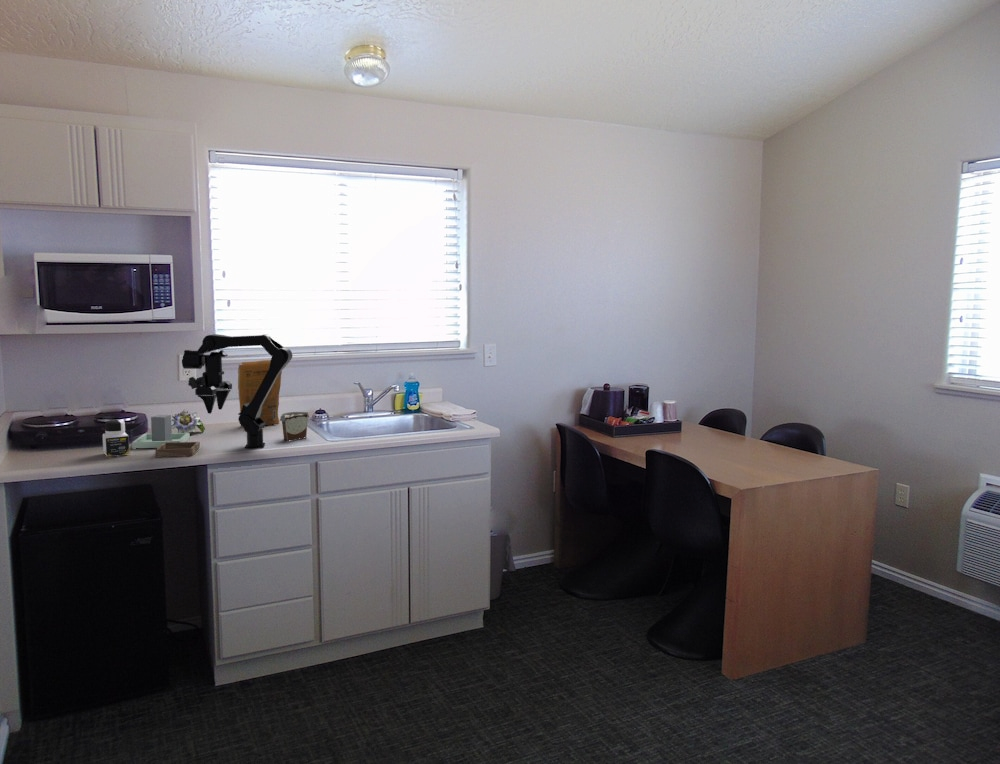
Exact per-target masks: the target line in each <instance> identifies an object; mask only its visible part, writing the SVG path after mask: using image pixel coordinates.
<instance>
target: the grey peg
mask: <svg viewBox="0 0 1000 764" xmlns="http://www.w3.org/2000/svg"><path fill="white" fill-rule="evenodd" d="M150 424H151V425H150V426H151V427H150V428H151V434H152V441H172V433H173V432H172V430H173V429H171V425H172V415H171V414H156V415H153V416H150Z"/></svg>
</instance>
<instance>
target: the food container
mask: <svg viewBox="0 0 1000 764" xmlns="http://www.w3.org/2000/svg"><path fill="white" fill-rule="evenodd" d="M309 418H310V415H309V412H306V411H290V412H289V411H288V412H284V413H282V414H281V416H280V418H279V422H280V421H281V423H282V424H281V426H282V434H283V440H285V441H284V442H287V441H288V442H290V441H289V440H293V441H296V440H295V439H298V440H300V439H299V438H303V439H305V438H304V437H306V438H307V432H308V419H309Z"/></svg>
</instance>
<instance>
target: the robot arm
mask: <svg viewBox="0 0 1000 764" xmlns="http://www.w3.org/2000/svg"><path fill="white" fill-rule="evenodd" d="M254 346H256V347H258V346H261V347H263V349H264V351H266V352H267V353H268V354H269V355H270V357H271V359H270V360H271V361H270V366H269V370H268V372H267V374H266V375H265V377H264V379H263V381H262V383H261V385H260V387H259V388H258V390H257V392H256V394H255V396H254V398H253V400H252V401H251V403H246V404H244V405H243V407H242V410H241V412H240V411H239V413H237V415H239V416H238V419H237V420H238V422H239V424H240V426H241V425H242V426H243V427H242V428H243V430H244V432H245V433H246V445H244V449H251V448H252V449H253V448H261V449H262V448H264V447H265V445H266V442H264V429H265V422H264V421H263V420H262V419H261V418H260V414H261V410H262V405H263V403H264V401H265V399H266V398H267V396H268V394H269V392H270V390H271V388H272V386H273V385H274V383H275V381H276V379H277V377H278V375H279V373H280V372H281V371H282V372H283V370H285V368H286V367H287V366H288V364H289V363H290V362H291V360H292V359H293V353H292V351H291V349H290V348H288V347H285V346H283V345H282V344H280V343H279V342H278V341H276V340H275V339H274V338H273V337H271V336H270V335H269V334H260V335H259V334H258V335H241V336H240V335H237V336H231V335H224V334H219V333H218V334H217V333H213V334H208V335H206V336H204V338H202V342H201V345H200V347H199V348H198V349H197V350H191V349H185V350H183V355H182V358H181V364H182V367H183V369H185V370H186V369H187V370H190V369H191V370H196V369H197V370H201V369H202V368H203V367H204V371H203V373H202V374H201V375H202V376H199V377H196V376H190V377H188V382H187V385H188V386H189V387H191V390H193V389H194V392H195V396H197V397H198V398H200V399H201V400H202V401H203V404H204V406H205V409H206V412H207V414H212V412H213V409H214V406H215V402H216V403H217V409H218V410H223V407H224V405H225V402H226V401H227V398H228V396H229V394H230V392H231V391H232V389H233V383H232V382H231V381H230V380H229V381H225V380H223V375H224V374H225V371H224V370H223V360H222V359H223V358H225V357H228V354H227V353H226V352H225V351H224V350H223V349H226V348H233V347H234V348H236V347H254ZM217 350H219V351H217ZM206 353H209V354H206Z"/></svg>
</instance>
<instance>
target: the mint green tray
mask: <svg viewBox="0 0 1000 764" xmlns="http://www.w3.org/2000/svg"><path fill="white" fill-rule="evenodd" d="M190 436H191V435H190V432H188V433H178V432H172V441H152V433H144V434H142V435H141V436H139V437H137V438H136V439H135V440H133V441H132V442H131V444H132V447H131V448H132V450H137V449H136V448H158V447H159V446H161V445H162V444H163V443H170V442H187V441H188V440H189V439H191V437H190ZM189 441H190V440H189ZM189 441H188V442H189Z"/></svg>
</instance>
